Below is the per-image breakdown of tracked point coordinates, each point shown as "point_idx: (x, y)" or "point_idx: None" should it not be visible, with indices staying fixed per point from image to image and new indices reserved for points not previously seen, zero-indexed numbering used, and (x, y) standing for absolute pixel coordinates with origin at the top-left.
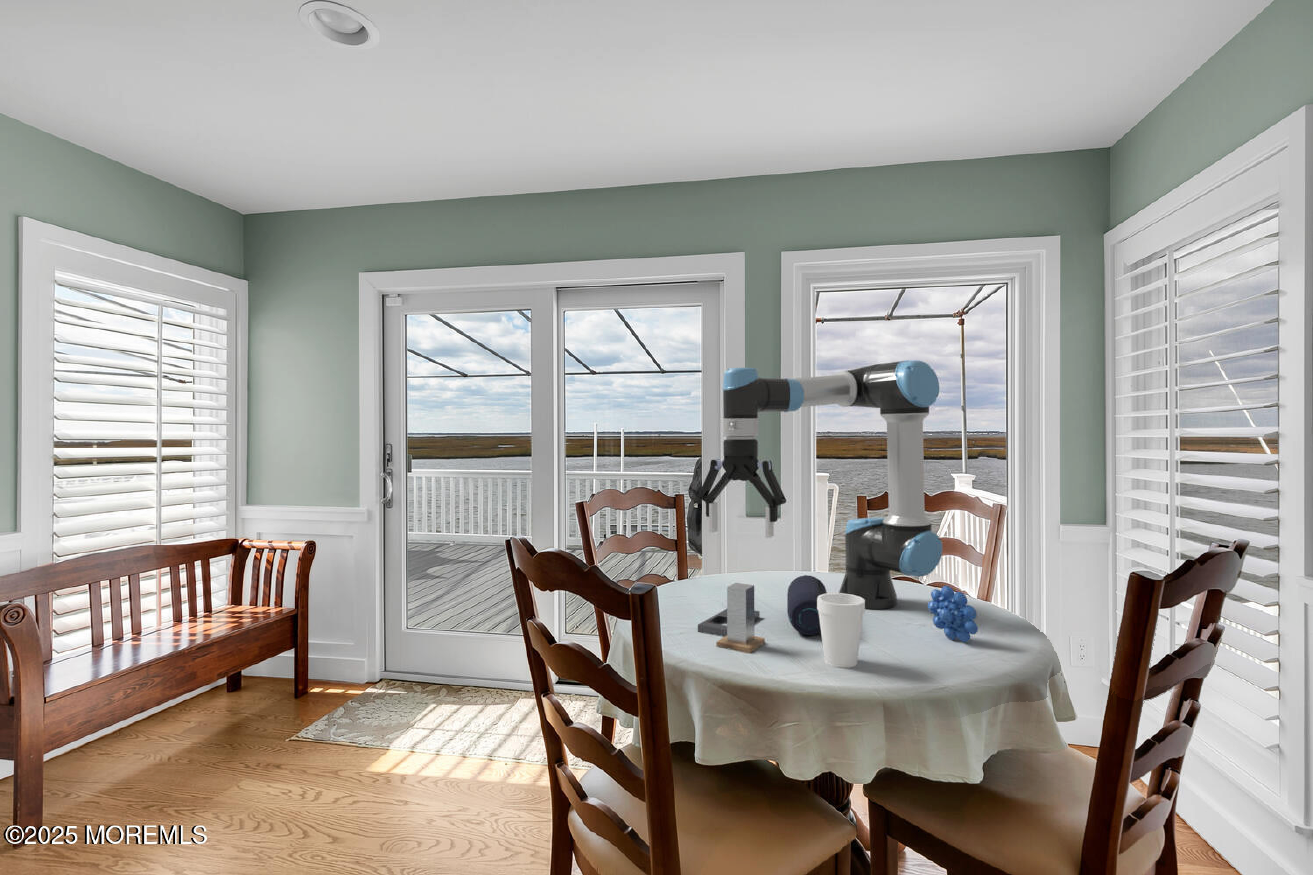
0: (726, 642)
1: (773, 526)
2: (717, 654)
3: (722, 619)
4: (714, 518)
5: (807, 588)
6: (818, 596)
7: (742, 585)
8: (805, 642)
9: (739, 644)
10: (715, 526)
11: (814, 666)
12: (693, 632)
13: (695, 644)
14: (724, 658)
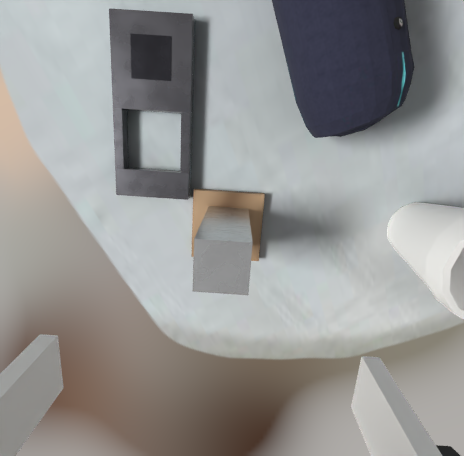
0: None
1: (404, 399)
2: None
3: (134, 109)
4: (13, 428)
5: (360, 30)
6: (443, 275)
7: (223, 258)
8: (337, 154)
9: None
10: (44, 375)
11: (373, 267)
12: (117, 201)
13: (155, 260)
14: (228, 297)
